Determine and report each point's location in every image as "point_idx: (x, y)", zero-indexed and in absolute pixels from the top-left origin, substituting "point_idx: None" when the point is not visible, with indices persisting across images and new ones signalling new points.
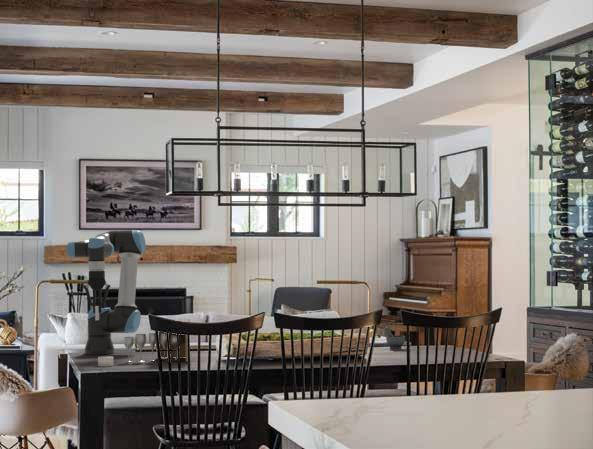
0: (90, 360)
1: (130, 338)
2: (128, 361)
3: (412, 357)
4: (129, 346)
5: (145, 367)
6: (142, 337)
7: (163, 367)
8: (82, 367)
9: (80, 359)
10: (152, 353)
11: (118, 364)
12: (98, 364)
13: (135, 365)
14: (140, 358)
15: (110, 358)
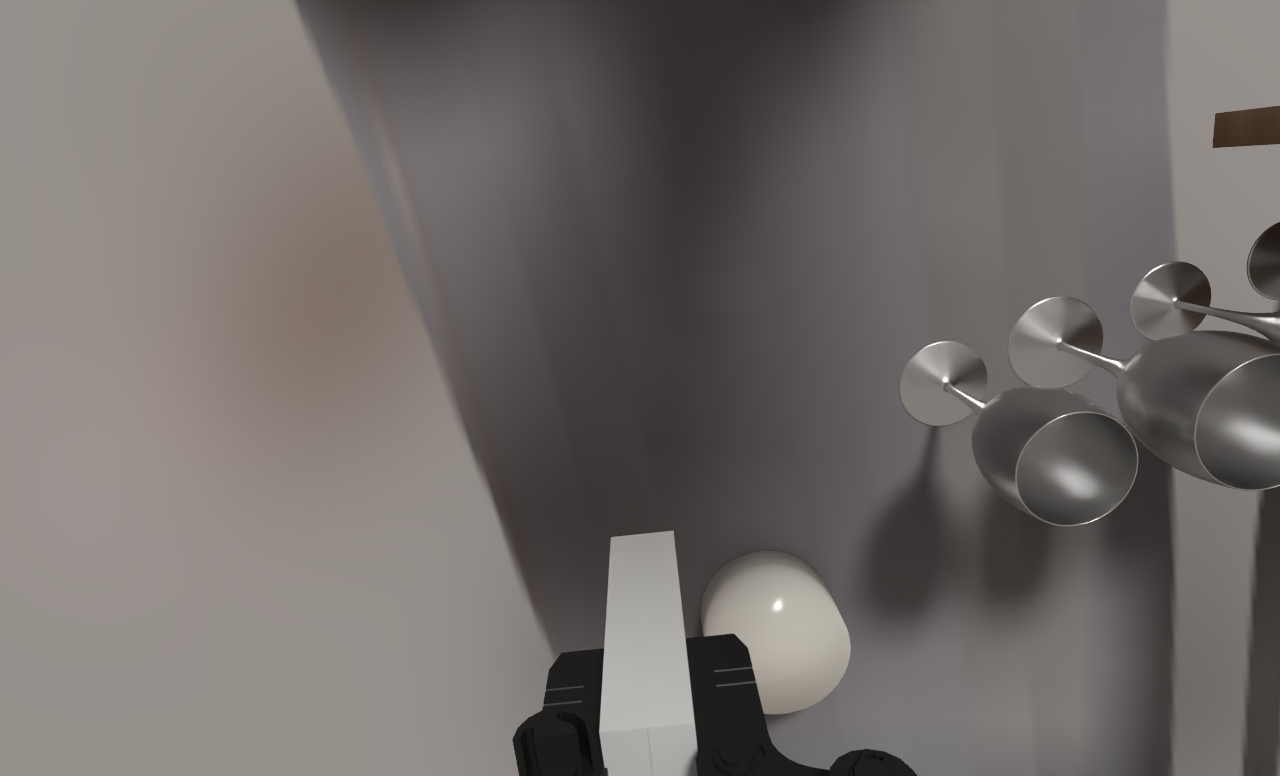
0: (527, 206)
1: (1093, 514)
2: (943, 397)
3: None
4: (1027, 471)
5: (1107, 741)
6: (1257, 472)
7: (1248, 746)
8: None
9: (389, 100)
10: (1223, 318)
11: (865, 545)
12: None
13: (1020, 618)
14: (1068, 351)
15: (828, 686)
